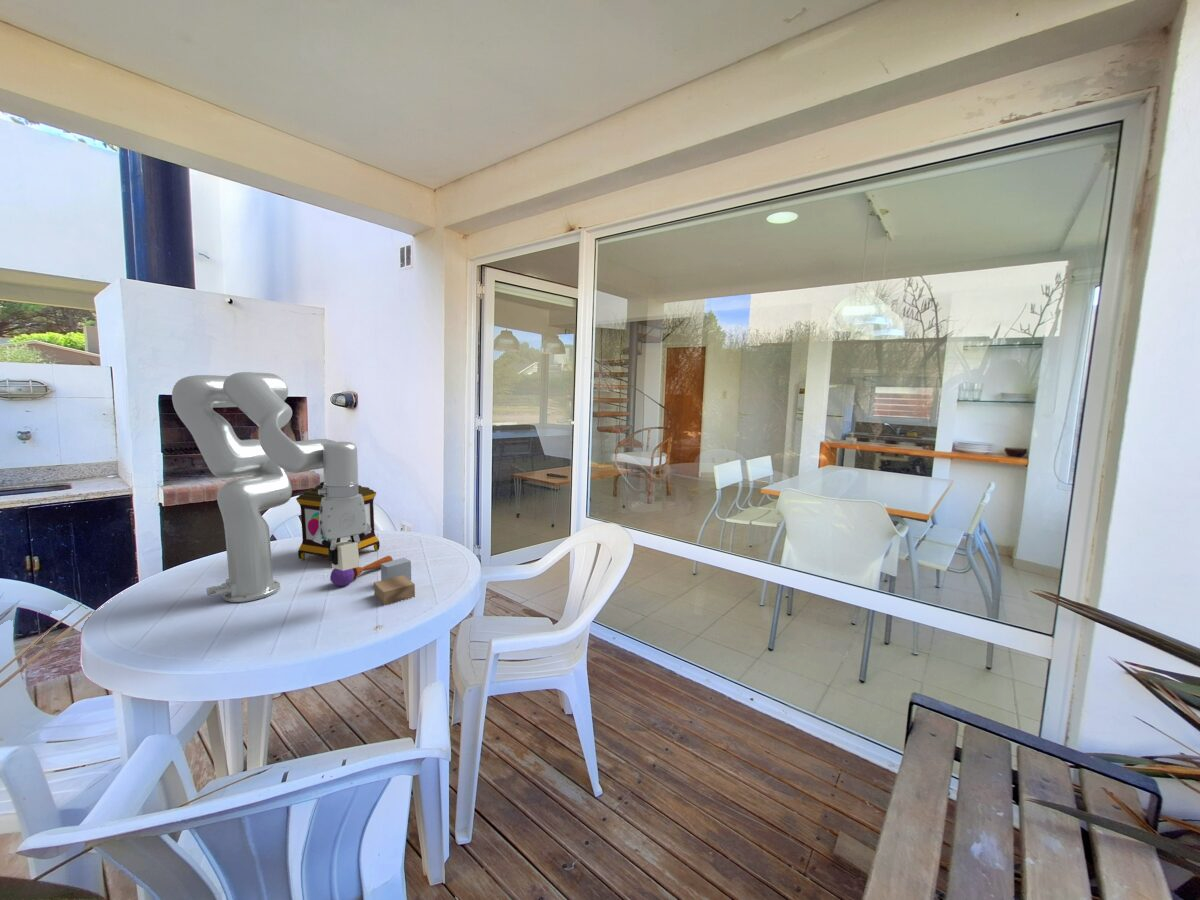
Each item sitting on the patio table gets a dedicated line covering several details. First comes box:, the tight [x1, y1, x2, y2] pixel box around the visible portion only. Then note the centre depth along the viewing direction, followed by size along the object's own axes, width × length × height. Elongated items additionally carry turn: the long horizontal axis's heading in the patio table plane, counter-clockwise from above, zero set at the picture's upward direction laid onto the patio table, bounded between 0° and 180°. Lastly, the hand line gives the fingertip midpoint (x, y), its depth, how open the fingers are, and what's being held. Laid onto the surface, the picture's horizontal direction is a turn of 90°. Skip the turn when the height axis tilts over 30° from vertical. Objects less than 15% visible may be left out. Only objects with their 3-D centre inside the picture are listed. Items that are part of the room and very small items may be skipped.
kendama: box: [329, 555, 394, 587], centre depth 142 cm, size 6×6×20 cm
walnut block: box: [373, 575, 416, 606], centre depth 128 cm, size 8×8×4 cm
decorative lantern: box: [295, 481, 381, 560], centre depth 157 cm, size 20×20×30 cm
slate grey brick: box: [380, 557, 412, 581], centre depth 138 cm, size 7×4×6 cm, turn 140°
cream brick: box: [331, 541, 361, 571], centre depth 120 cm, size 7×4×6 cm, turn 49°
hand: (344, 560), depth 121 cm, fingers closed on cream brick, 3 cm apart
